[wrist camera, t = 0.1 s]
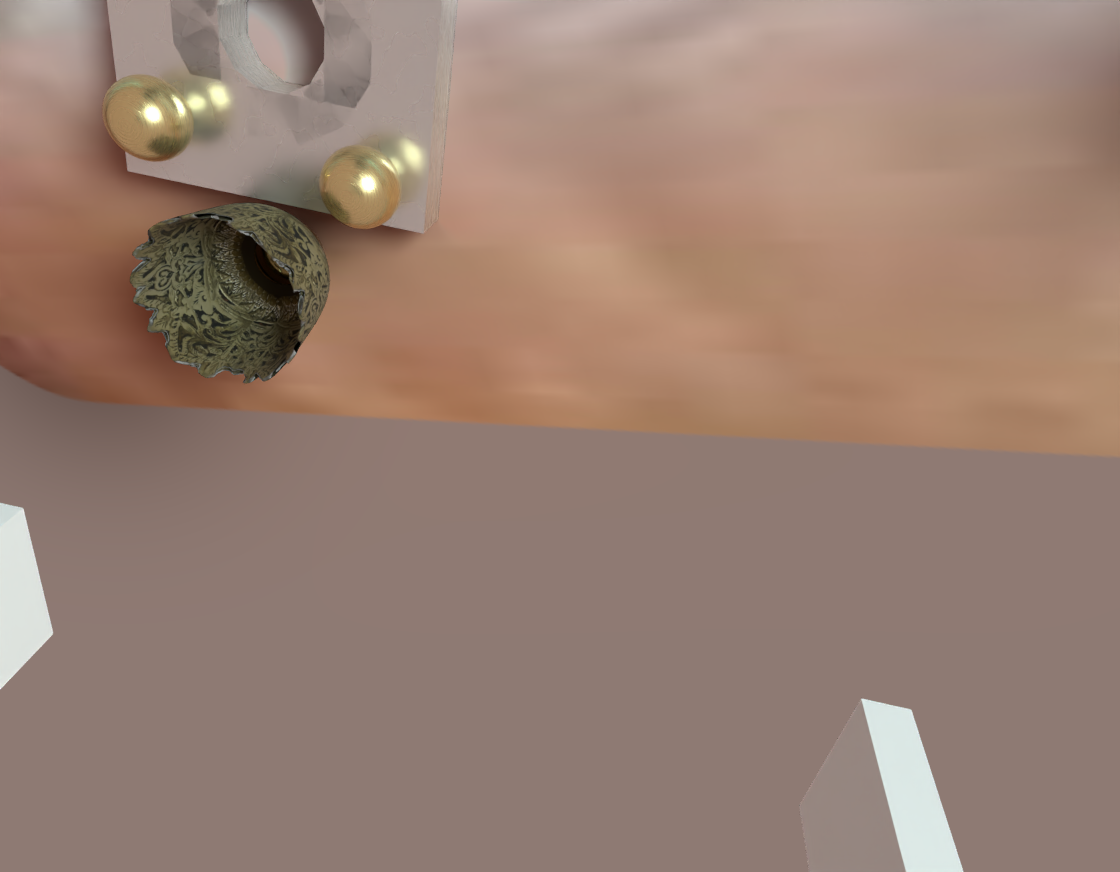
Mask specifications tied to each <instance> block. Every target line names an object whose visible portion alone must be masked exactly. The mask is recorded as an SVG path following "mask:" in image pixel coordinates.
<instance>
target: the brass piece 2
mask: <svg viewBox="0 0 1120 872" xmlns="http://www.w3.org/2000/svg"><path fill="white" fill-rule="evenodd" d="M319 189H320V194H321V197H322V200H323V202H324V204H325V206H326V208H327V209H328V211H329V212H330V213H331V214H332V215H333V216H334V217H335V218H336V219H337V220H339V221H340V222H341V223H343V224H345V225H347V226H350V227H353V228H359V229H369V228H374V227H377V226H380V225H382V224H383V223H385V222H387V221H388V220H389V219H390V218H391V217H392V216H393V215H394V213H395V212H396V210H397V209H398V206H399V204H400V201H401V196H402V185H401V179H400V176H399V173H398V171H397V169H396V167H395V166H394V164H393V163H392V161H391V160H390V159H389V158H388V157H387V156H386V155H385V154H383V153H382V152H380V151H378V150H377V149H375V148H372V147H369V146H365V145H349V146H346V147H343V148H341V149H339V150H337V151H336V152H334V153H333V154H332V155H331V156H330V157H329V158H328V159H327V160H326V162H325V163H324V165H323V167H322V170H321V174H320V178H319Z"/></svg>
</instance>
